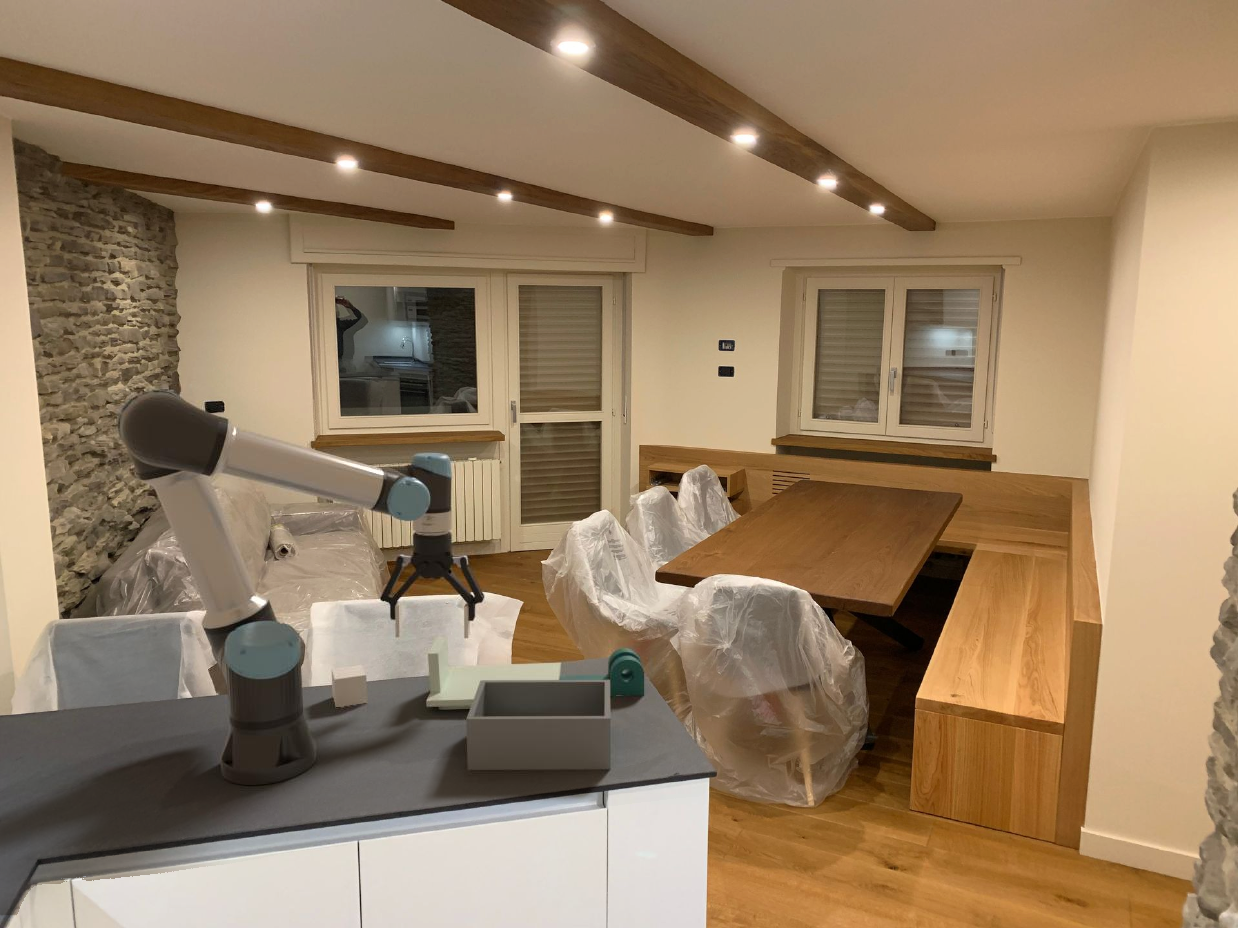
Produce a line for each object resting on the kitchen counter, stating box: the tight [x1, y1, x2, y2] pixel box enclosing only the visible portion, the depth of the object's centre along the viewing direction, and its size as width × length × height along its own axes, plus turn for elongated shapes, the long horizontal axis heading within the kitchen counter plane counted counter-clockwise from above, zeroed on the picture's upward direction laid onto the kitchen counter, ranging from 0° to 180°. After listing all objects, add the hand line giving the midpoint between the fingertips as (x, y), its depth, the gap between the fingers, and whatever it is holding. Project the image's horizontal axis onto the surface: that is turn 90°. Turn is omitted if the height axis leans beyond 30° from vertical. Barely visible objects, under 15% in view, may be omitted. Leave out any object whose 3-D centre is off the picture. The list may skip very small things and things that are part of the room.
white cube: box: [331, 664, 368, 708], centre depth 179 cm, size 6×6×6 cm
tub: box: [465, 680, 611, 771], centre depth 159 cm, size 24×17×9 cm
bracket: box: [560, 647, 645, 697], centre depth 184 cm, size 18×7×8 cm, turn 96°
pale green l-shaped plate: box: [426, 636, 562, 711], centre depth 181 cm, size 25×18×11 cm
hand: (433, 635), depth 180 cm, fingers open, 13 cm apart
